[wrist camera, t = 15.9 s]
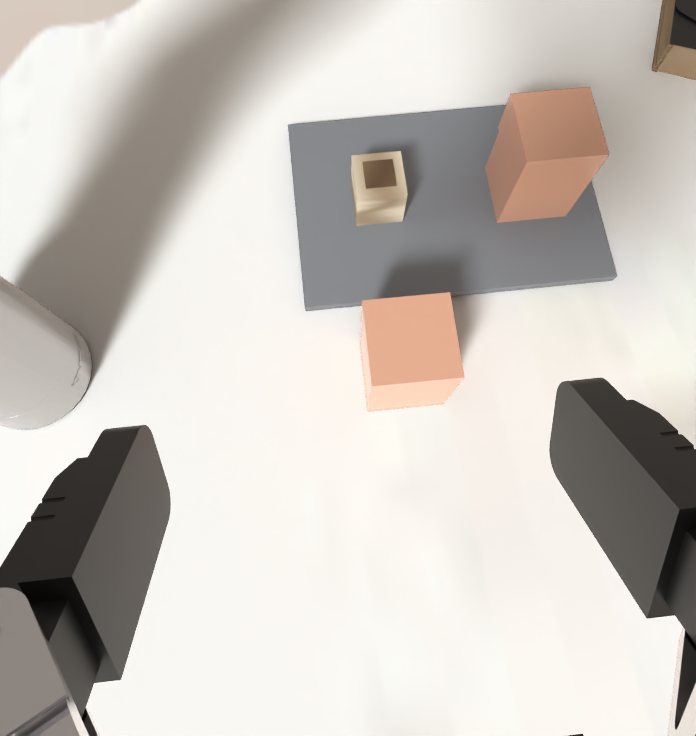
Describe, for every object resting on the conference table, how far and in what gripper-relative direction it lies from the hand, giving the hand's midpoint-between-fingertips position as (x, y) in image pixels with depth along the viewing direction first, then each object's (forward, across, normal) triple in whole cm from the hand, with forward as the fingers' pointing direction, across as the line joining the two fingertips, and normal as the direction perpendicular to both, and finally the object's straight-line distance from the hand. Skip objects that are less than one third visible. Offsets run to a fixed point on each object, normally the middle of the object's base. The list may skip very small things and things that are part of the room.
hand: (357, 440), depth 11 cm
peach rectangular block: (+38, -18, +4) cm, 43 cm away
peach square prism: (+28, -5, +15) cm, 33 cm away
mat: (+39, -11, +4) cm, 41 cm away
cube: (+38, -5, +4) cm, 39 cm away
